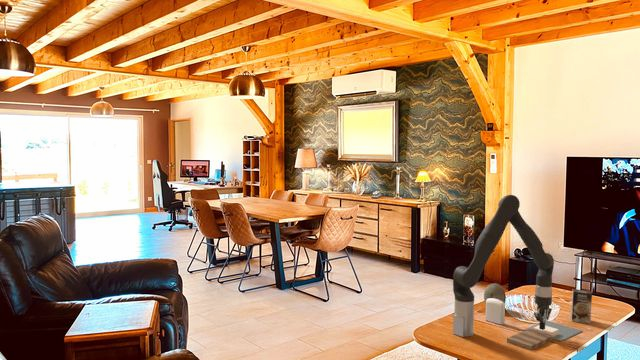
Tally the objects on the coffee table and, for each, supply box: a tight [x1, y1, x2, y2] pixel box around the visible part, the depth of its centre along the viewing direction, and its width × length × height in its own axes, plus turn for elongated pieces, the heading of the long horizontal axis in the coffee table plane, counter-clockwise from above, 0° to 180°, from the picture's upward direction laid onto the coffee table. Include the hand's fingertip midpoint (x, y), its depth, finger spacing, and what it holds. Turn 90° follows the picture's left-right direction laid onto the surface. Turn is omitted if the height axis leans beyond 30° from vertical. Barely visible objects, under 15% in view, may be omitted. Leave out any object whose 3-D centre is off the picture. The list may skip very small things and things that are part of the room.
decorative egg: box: [483, 282, 506, 305], centre depth 295 cm, size 12×12×15 cm
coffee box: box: [570, 288, 593, 324], centre depth 277 cm, size 9×6×16 cm
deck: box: [506, 329, 554, 351], centre depth 249 cm, size 20×12×2 cm, turn 128°
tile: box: [533, 325, 559, 337], centre depth 257 cm, size 8×9×2 cm
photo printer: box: [484, 298, 506, 325], centre depth 274 cm, size 10×4×12 cm, turn 39°
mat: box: [523, 320, 583, 343], centre depth 262 cm, size 22×19×1 cm
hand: (542, 329), depth 255 cm, fingers closed
